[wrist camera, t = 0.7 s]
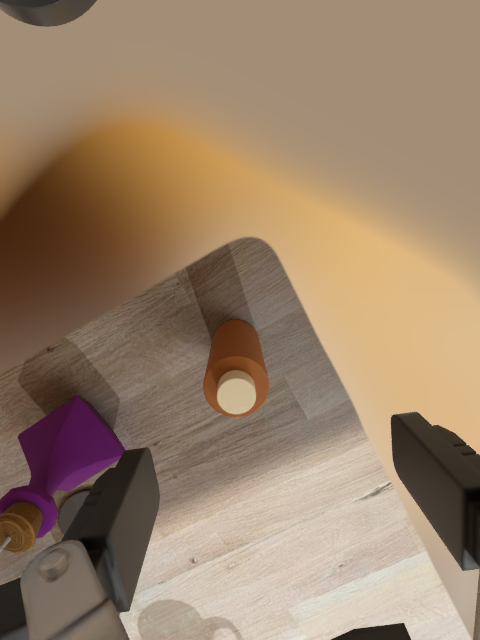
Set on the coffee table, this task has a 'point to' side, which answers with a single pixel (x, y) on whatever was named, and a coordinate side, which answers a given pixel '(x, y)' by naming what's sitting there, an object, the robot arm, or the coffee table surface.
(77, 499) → the slate coaster
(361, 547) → the coffee table surface
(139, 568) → the robot arm
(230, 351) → the amber bottle
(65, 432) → the perfume bottle
